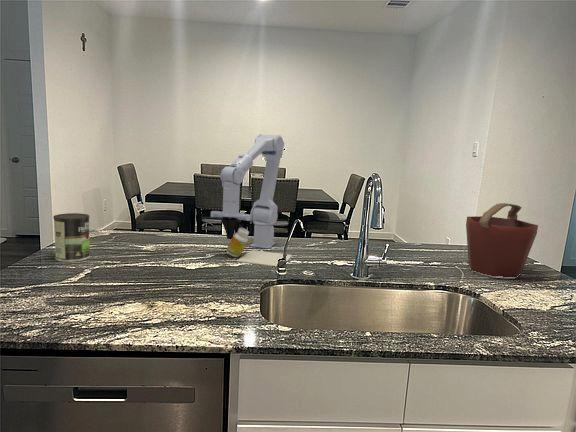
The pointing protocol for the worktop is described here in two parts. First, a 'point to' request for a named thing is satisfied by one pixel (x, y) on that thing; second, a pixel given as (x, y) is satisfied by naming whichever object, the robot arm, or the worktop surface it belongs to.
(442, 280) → the worktop surface
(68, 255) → the coffee can
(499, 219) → the bucket
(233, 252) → the supplement bottle
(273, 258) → the mat
